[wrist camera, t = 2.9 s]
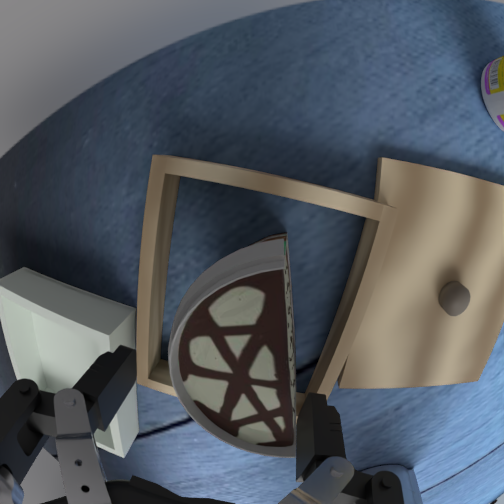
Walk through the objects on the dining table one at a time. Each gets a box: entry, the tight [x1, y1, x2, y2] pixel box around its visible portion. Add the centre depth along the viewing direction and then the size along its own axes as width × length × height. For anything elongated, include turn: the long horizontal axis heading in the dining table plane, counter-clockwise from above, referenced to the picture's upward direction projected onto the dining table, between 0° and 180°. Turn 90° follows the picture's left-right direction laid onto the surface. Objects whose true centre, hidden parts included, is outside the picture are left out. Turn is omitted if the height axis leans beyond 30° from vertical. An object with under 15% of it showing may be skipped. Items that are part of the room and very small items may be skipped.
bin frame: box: [136, 155, 399, 424], centre depth 21 cm, size 15×18×3 cm
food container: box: [168, 232, 296, 458], centre depth 17 cm, size 12×6×10 cm, turn 7°
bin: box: [0, 267, 139, 458], centre depth 24 cm, size 14×17×5 cm
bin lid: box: [338, 157, 504, 389], centre depth 19 cm, size 15×18×2 cm
